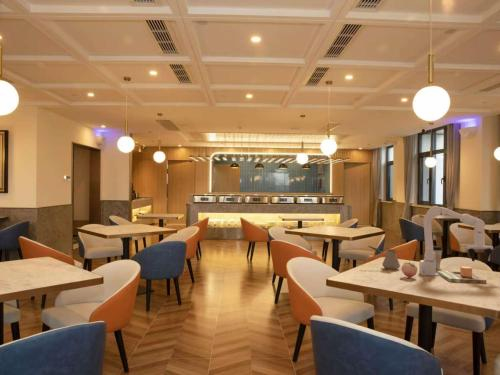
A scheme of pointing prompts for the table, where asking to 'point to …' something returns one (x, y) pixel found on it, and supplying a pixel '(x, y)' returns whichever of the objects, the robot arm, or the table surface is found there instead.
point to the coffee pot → (389, 259)
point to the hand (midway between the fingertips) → (479, 261)
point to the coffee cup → (437, 255)
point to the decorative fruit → (409, 269)
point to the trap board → (461, 277)
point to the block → (465, 271)
